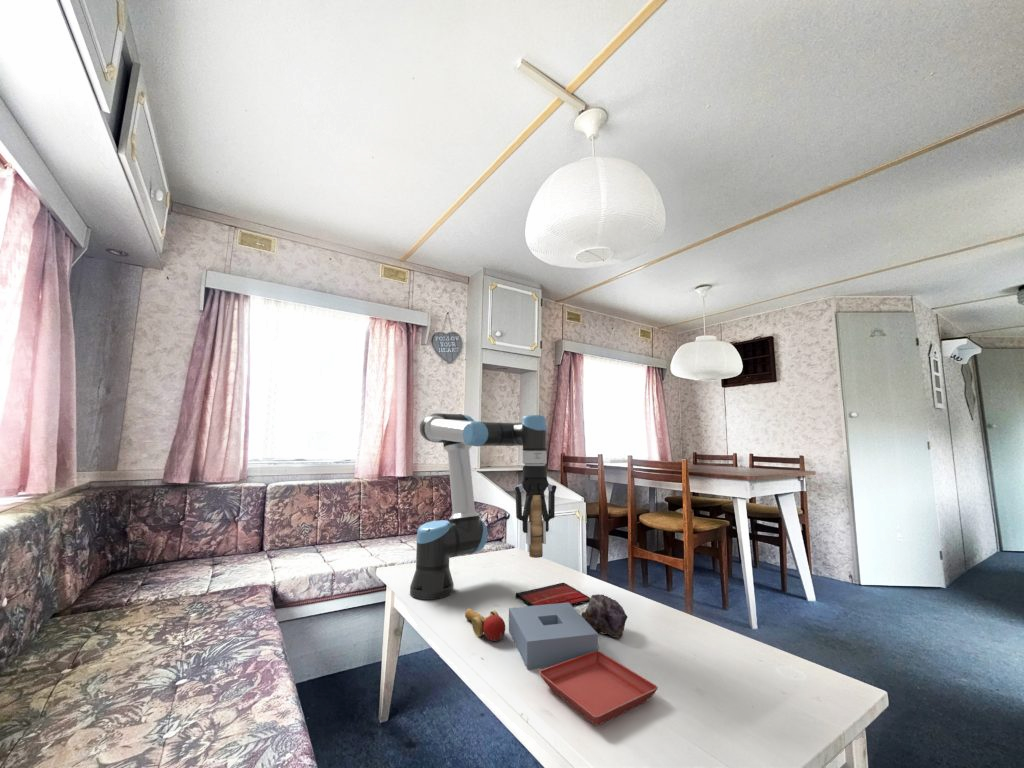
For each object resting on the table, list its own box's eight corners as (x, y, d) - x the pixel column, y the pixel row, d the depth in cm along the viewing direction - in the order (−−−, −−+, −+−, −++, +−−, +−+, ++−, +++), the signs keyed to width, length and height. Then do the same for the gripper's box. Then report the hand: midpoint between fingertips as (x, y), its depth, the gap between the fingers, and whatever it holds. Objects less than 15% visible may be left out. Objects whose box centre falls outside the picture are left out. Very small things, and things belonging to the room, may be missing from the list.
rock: (614, 648, 107) (631, 634, 114) (617, 616, 107) (634, 603, 114) (577, 627, 115) (595, 615, 122) (579, 597, 115) (598, 587, 122)
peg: (527, 554, 124) (526, 494, 127) (540, 553, 125) (539, 493, 128) (531, 558, 120) (530, 495, 123) (544, 557, 121) (543, 495, 124)
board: (508, 630, 114) (508, 607, 115) (569, 624, 118) (568, 602, 119) (527, 669, 95) (527, 641, 96) (598, 660, 99) (598, 633, 100)
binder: (515, 592, 138) (563, 581, 149) (515, 599, 138) (563, 588, 149) (543, 611, 125) (593, 597, 136) (543, 619, 124) (593, 605, 135)
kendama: (455, 628, 119) (485, 644, 104) (458, 603, 121) (488, 616, 106) (478, 627, 122) (510, 642, 108) (480, 603, 125) (512, 615, 110)
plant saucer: (597, 663, 98) (597, 648, 99) (660, 703, 83) (659, 686, 84) (537, 687, 88) (537, 670, 89) (596, 738, 73) (595, 717, 74)
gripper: (510, 465, 121) (511, 548, 117) (565, 464, 125) (567, 544, 121) (505, 464, 128) (505, 542, 125) (556, 463, 132) (558, 538, 129)
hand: (535, 543), depth 123 cm, fingers closed on peg, 4 cm apart
